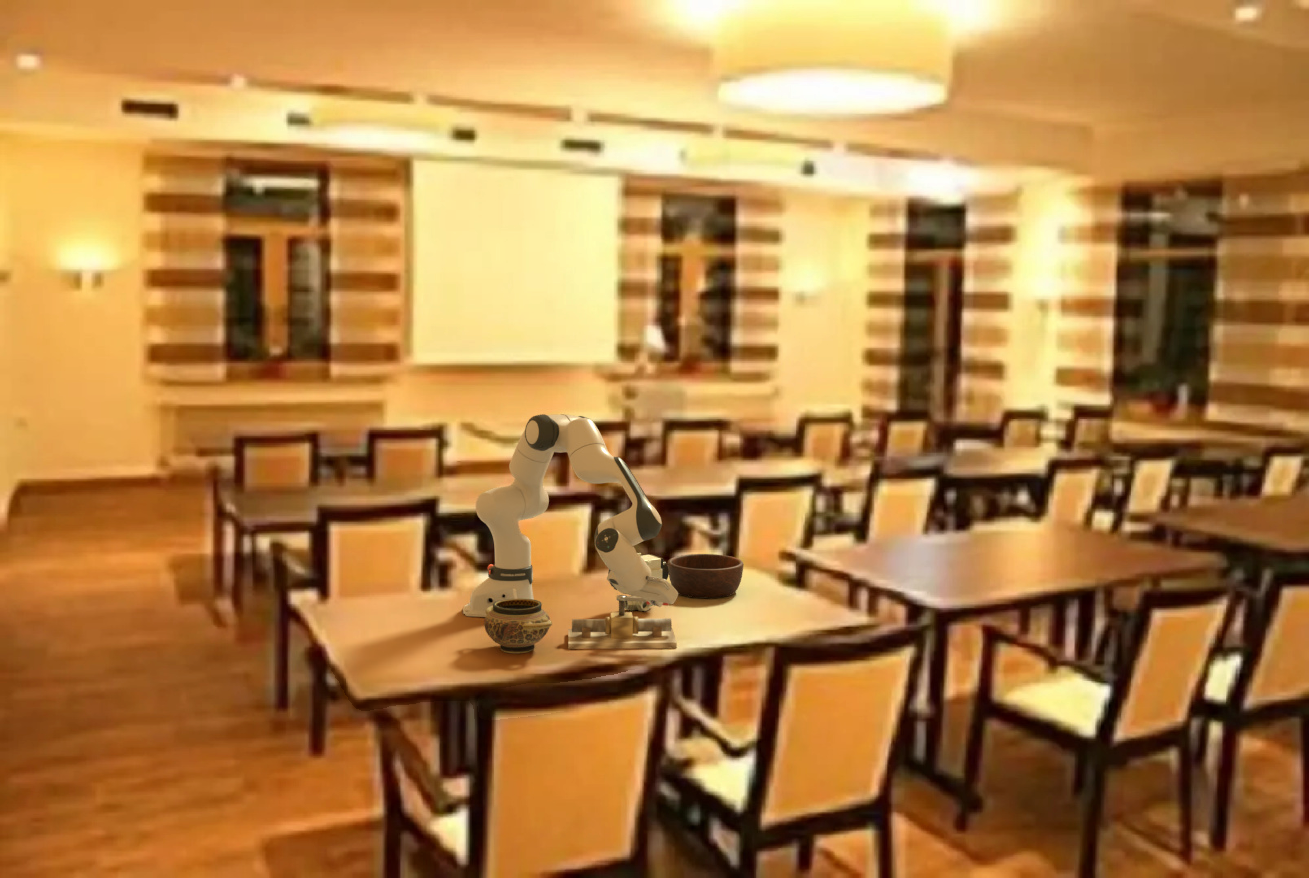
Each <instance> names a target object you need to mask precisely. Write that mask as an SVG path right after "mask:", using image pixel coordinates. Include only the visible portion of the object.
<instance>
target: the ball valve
mask: <svg viewBox="0 0 1309 878" xmlns="http://www.w3.org/2000/svg"><path fill="white" fill-rule="evenodd" d="M636 553H637V554H638V555H640V556H641V557H642V558H643V560H644V561H645V562H646V564H647V565H648V566H649V567H650V569H651V576H654V577H659V578H663V579H665V580H667V581H668V578H669V570H668V562H666V561H665V559H664V557H660V556H657V555H654V554H652V553H651V554H644V555H642V553H641V552H636ZM610 571H611V570H610V569H609V568H608V573H607V574H609V573H610ZM609 584H610V586H611V587H612V588H613V590H616V591H618V590H617V589H616V588H615V587H614V586H613V585H612V583H610V582H609ZM630 596H632V595H630ZM651 607H654V605H651V604H647V602H637V601H625V610H627V611H629V610H630V611H629V612H631V611H632V612H633V611H637V610H638V611H639V612H642V611H644V612H646V611H650V609H651Z"/></svg>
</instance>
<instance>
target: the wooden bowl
mask: <svg viewBox="0 0 1309 878" xmlns="http://www.w3.org/2000/svg"><path fill="white" fill-rule="evenodd" d="M667 566H668V570H669V575H668V578H669V581H670V582H669V583H670V584H671V585H672V586H673V587H674V588H675V589H676V591H677V592H678V595H681V596H683V597H687V596H688V598H696V599H718V598H726V597H729V596H732V595H734V594H735V593H736V592H737V590H738V589H739V586H740V585H741V582H742V577H743V572H744V562H743V560H741V559H739V558H737V557H734V556H729V555H723V554H714V553H692V554H683V555H682V554H681V555H677V556H674V557H673V556H672V557H671V558H669V559H668V560H667Z"/></svg>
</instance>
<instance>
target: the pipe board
mask: <svg viewBox="0 0 1309 878" xmlns="http://www.w3.org/2000/svg"><path fill="white" fill-rule="evenodd" d="M625 610H626V609H625V601H618V611H617V612H616V611H613V612H610V616H605V618H594V619H593V618H591V619H590V618H589V619H588V618H587V619H586V618H582V619H581V618H579V619H575V618H574V619H571V628H570V629H569V628H568V629H567V631H568V633H567V634H568V637H567V639H568V642H567V643H568V647H567V648H568V650H575V649H576V650H581V649H582V650H586V649H588V650H589V649H591V650H592V649H593V650H594V649H597V650H598V649H601V650H602V649H603V650H605V649H676V648H677V646H678V645H677V639H676V635H675V633H674V629H673V627H672V618H671V617H670V618H639V616H633V611H632V612H631V611H628V612H627V611H626V612H625Z"/></svg>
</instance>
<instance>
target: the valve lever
mask: <svg viewBox="0 0 1309 878" xmlns="http://www.w3.org/2000/svg"><path fill="white" fill-rule="evenodd" d="M615 597H616V600H615V601H618V602H619V601H637V602H647V604H650V603H649V602H648V601H646V600H645V599H643V598H641V597H637V596H631V595H627V594H619V595H616V596H615ZM669 605H670V604H668V603H664V602H663V605H662V606H669Z"/></svg>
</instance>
